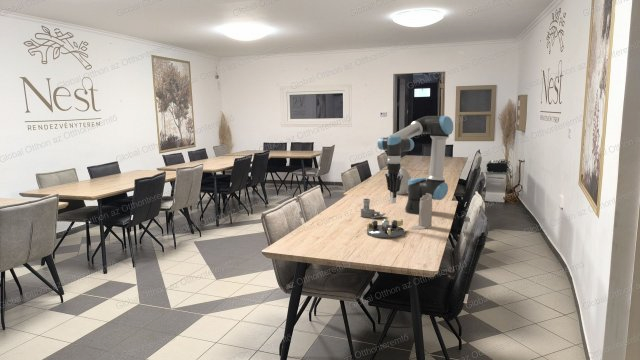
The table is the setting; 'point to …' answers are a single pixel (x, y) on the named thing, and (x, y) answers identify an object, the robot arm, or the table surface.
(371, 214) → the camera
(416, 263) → the table surface
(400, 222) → the knob
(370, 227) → the knob
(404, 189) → the vase
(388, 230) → the knob
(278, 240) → the table surface
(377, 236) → the level base
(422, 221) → the grey upright bracket
